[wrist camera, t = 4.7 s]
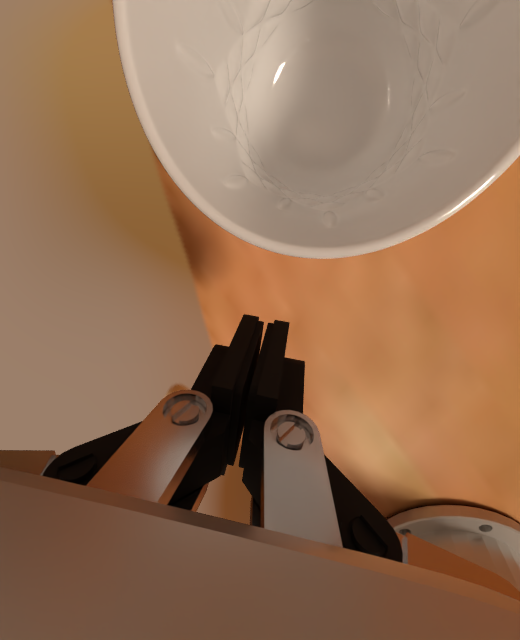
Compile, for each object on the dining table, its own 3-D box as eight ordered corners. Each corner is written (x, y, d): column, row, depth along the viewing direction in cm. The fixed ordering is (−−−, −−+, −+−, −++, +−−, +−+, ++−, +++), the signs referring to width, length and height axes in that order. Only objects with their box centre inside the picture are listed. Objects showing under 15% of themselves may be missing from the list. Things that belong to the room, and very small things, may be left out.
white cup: (337, 239, 16) (361, 323, 7) (212, 151, 15) (63, 120, 6) (460, 79, 12) (820, -155, 3) (304, -49, 12) (258, -781, 3)
